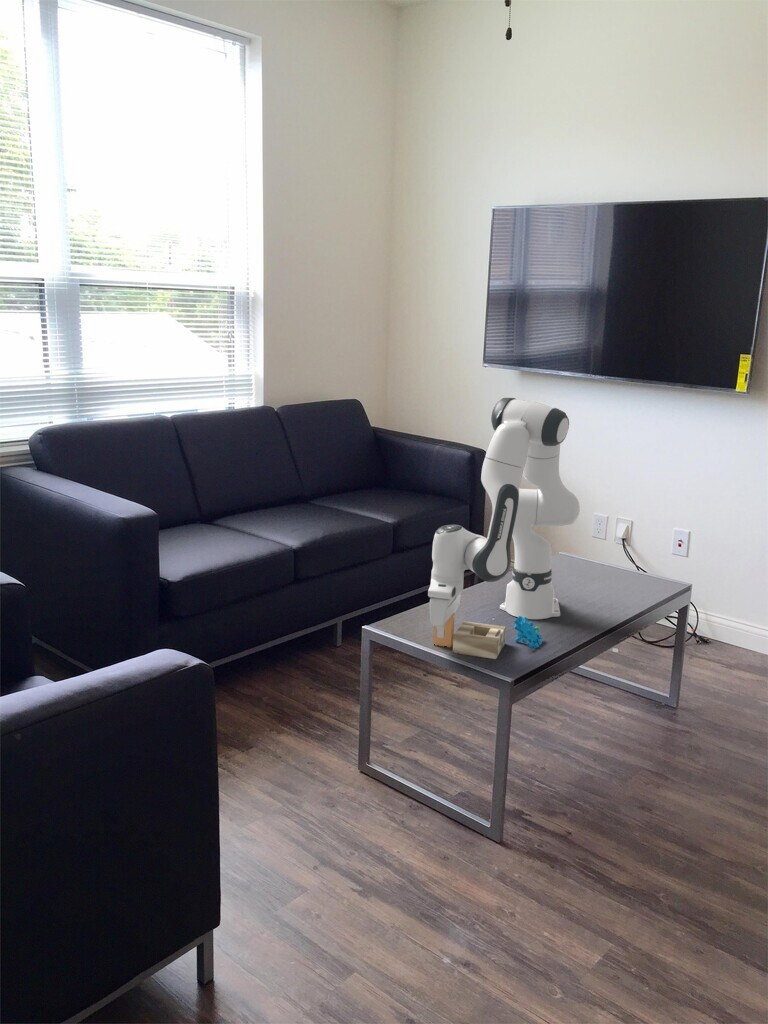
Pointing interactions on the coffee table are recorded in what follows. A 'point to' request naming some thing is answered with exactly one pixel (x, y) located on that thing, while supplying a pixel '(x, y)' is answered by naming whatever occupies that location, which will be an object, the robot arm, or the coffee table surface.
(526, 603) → the robot arm
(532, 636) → the gear
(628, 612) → the coffee table surface
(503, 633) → the block
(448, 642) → the key peg
